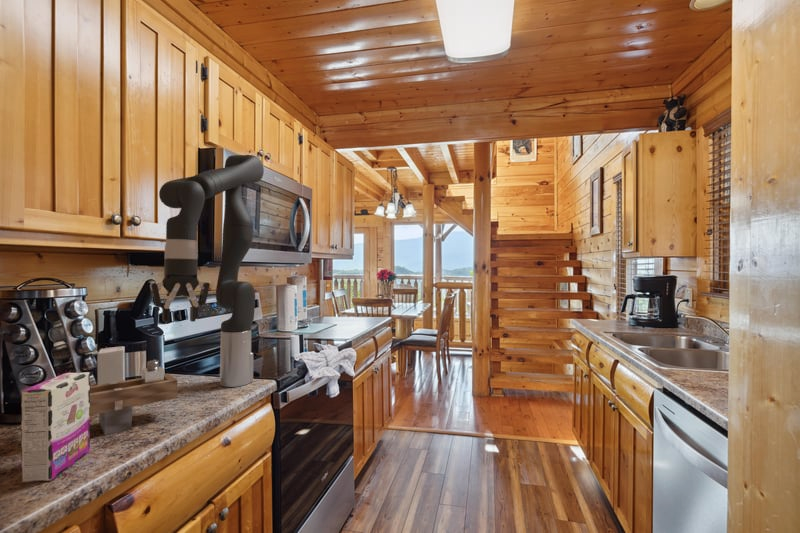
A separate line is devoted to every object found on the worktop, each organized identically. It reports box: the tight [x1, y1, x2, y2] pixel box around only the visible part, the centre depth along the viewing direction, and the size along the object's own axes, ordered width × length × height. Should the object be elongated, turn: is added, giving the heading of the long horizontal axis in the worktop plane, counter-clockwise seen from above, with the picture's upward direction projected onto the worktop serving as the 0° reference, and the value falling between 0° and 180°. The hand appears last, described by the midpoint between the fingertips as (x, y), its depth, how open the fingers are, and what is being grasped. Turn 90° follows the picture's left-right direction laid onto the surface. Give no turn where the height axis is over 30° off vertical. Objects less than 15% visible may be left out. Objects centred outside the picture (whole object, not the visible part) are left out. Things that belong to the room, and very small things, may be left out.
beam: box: [89, 373, 178, 436], centre depth 91 cm, size 24×9×10 cm, turn 135°
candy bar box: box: [20, 371, 91, 484], centre depth 73 cm, size 11×5×16 cm, turn 9°
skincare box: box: [96, 346, 126, 385], centre depth 107 cm, size 8×6×15 cm
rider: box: [141, 359, 165, 385], centre depth 96 cm, size 4×4×7 cm
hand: (180, 321), depth 101 cm, fingers open, 5 cm apart
